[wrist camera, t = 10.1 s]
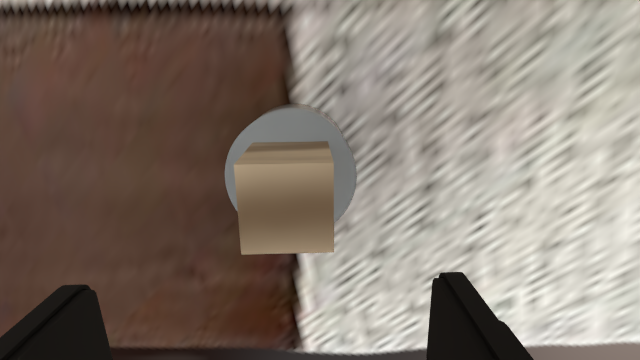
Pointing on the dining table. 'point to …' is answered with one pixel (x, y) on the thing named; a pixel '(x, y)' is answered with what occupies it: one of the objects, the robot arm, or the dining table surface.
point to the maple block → (285, 198)
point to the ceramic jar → (298, 127)
